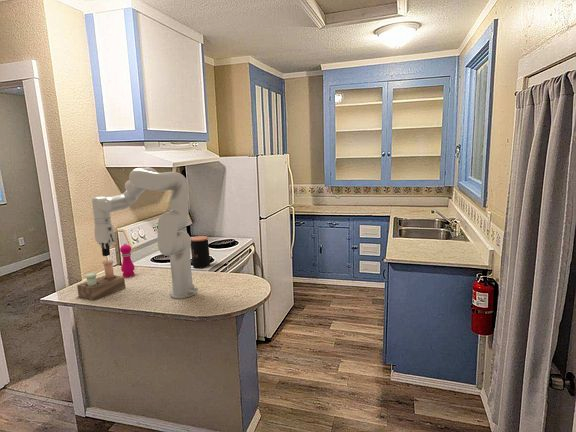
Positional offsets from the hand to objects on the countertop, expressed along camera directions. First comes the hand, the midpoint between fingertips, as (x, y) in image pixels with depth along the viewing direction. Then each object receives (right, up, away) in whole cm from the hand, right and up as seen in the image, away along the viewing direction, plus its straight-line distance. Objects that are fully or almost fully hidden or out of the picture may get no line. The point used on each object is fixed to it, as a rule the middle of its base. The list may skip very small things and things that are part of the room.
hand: (106, 255), depth 191 cm
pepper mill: (+1, -15, +24) cm, 28 cm away
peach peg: (+1, -13, +2) cm, 14 cm away
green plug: (-4, -19, -6) cm, 20 cm away
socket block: (-1, -19, -2) cm, 19 cm away
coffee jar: (+41, -11, +37) cm, 56 cm away
